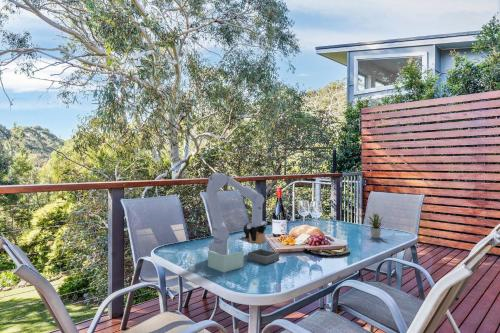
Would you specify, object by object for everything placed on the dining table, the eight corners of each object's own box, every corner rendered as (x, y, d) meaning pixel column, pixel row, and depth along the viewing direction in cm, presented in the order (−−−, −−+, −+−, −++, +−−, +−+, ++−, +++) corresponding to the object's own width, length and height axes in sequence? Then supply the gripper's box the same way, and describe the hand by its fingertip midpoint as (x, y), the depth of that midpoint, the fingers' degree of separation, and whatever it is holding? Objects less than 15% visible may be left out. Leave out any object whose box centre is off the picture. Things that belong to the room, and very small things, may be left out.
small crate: (258, 244, 189) (259, 235, 189) (249, 242, 193) (249, 233, 193) (264, 242, 192) (264, 233, 192) (255, 240, 197) (255, 231, 197)
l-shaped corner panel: (243, 266, 169) (243, 251, 168) (223, 272, 160) (223, 256, 160) (227, 261, 177) (227, 246, 177) (208, 266, 169) (208, 250, 169)
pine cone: (255, 242, 216) (255, 226, 216) (240, 236, 231) (240, 221, 231) (269, 240, 221) (269, 224, 221) (253, 234, 237) (253, 220, 236)
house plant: (360, 234, 239) (360, 210, 238) (381, 234, 238) (381, 210, 238) (366, 239, 225) (366, 213, 224) (388, 239, 224) (388, 213, 224)
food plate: (295, 249, 198) (295, 243, 198) (321, 243, 213) (321, 237, 213) (331, 261, 179) (332, 254, 179) (357, 253, 194) (358, 247, 194)
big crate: (266, 264, 172) (266, 257, 172) (247, 259, 180) (247, 252, 180) (279, 259, 180) (279, 252, 180) (260, 255, 188) (260, 248, 188)
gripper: (254, 217, 184) (253, 243, 185) (271, 214, 195) (270, 238, 196) (244, 216, 189) (243, 241, 189) (261, 212, 200) (261, 236, 200)
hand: (256, 239), depth 193 cm, fingers closed on small crate, 5 cm apart
